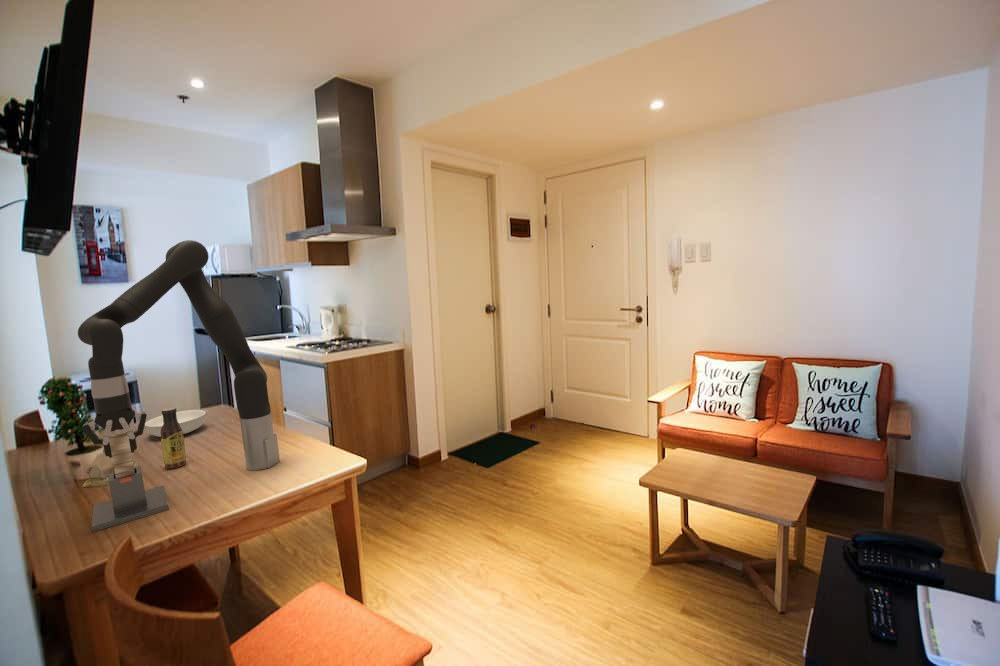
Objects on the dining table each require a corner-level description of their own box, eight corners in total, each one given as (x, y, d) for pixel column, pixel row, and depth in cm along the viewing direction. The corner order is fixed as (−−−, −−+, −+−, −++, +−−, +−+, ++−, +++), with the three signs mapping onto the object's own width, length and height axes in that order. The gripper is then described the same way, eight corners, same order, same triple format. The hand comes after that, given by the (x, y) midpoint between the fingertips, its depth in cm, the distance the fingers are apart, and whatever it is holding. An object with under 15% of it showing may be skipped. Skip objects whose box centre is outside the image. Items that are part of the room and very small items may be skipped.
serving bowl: (166, 427, 205) (163, 412, 204) (217, 423, 207) (214, 407, 206) (135, 444, 184) (132, 427, 183) (191, 439, 186) (189, 423, 185)
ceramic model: (104, 488, 145) (98, 457, 144) (74, 487, 147) (69, 456, 146) (146, 469, 159) (141, 440, 158) (118, 468, 161) (113, 440, 160)
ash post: (137, 486, 132) (128, 431, 130) (138, 491, 129) (128, 435, 127) (118, 491, 130) (108, 435, 128) (118, 496, 127) (108, 439, 124)
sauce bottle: (175, 470, 156) (166, 412, 153) (160, 469, 157) (150, 412, 155) (192, 462, 163) (183, 406, 160) (177, 461, 164) (168, 406, 161)
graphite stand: (164, 490, 141) (158, 456, 140) (168, 509, 129) (163, 473, 128) (94, 509, 131) (88, 473, 130) (92, 532, 119) (85, 493, 118)
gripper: (143, 385, 133) (153, 443, 135) (76, 396, 124) (88, 458, 127) (144, 390, 127) (154, 450, 130) (74, 401, 118) (86, 466, 121)
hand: (121, 454), depth 128 cm, fingers closed on ash post, 4 cm apart
